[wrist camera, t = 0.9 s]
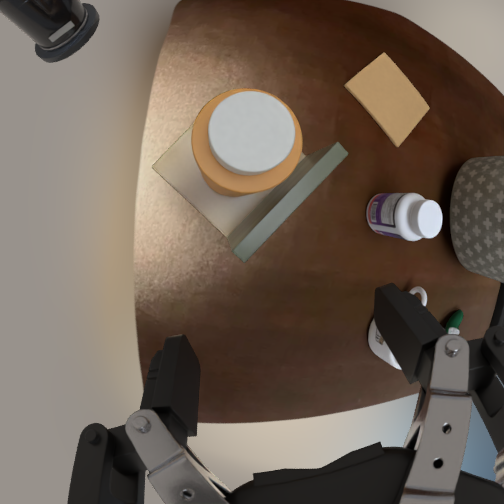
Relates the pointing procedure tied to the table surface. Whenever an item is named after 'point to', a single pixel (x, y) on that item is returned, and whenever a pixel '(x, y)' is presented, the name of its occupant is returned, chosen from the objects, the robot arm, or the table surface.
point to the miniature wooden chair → (248, 206)
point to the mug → (378, 342)
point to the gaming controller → (454, 323)
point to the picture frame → (499, 309)
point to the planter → (479, 216)
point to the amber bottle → (246, 142)
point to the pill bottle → (404, 216)
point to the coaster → (388, 98)
